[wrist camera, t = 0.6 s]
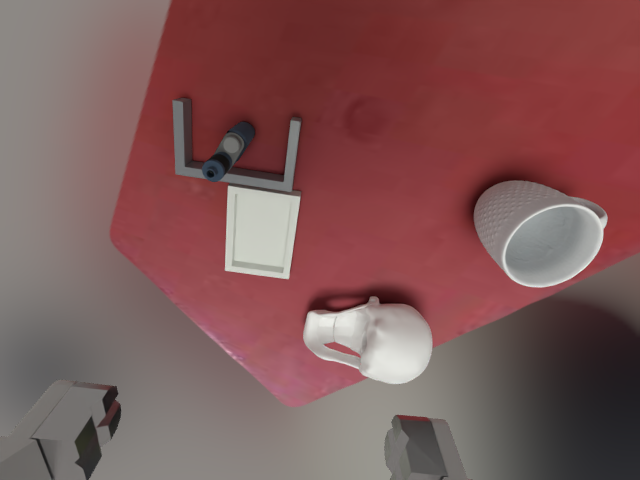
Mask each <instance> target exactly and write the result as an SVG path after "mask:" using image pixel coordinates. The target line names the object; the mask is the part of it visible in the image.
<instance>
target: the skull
mask: <svg viewBox="0 0 640 480" xmlns="http://www.w3.org/2000/svg"><path fill="white" fill-rule="evenodd" d="M379 303H380V302H379V299H378V298H377V297H376V296H375V297H374V296H371V297H370V299H369V301H368V303H366V304H363V305H359V306H356V307H354V308H351V309H347V310H343V311H340V312H331V311H327V310H313V311H310V312H308V314H307V318H306V323H305V326H304V333H303V339H304V342H305V344H306V346H307V347H308V348H309V349H310V350H311V351H312V352H313V353H314V354H315V355H317V356H318V357H320V358H322V359H324V360H329V361H336V362H340V363H343V364H347V365H350V366H352V367H355V368H357V369H359V371H360V372H361V373H362V374H363V375H364V376H366V377H370V378H371V379H373V380H378V381H382V382H386V383H390V384H402V383H406V382H409V381H411V380H412V379H414V378H416V377H417V376H419V375H420V374H421V373H422V372H423V371H424V370H425V368H426V367H427V365H428V363H429V360H430V357H431V353H432V334H431V330H430V328H429V325H428V323H427V322H426V320H425V319H424V318H423V317H422V315H421V314H420V313H419V312H418V311H417V310H416V309H415V308H413V307H411V306H409V305H406V304H379ZM333 335H334V336H333ZM330 342H336V343H339V344H341V345H345V346H347V347H349V348H350V349H351V350H353V351H355V352H357V353H359V354H360V356H361V358H359V357H357V356H353V355H349V354H344V353H341V352H339V351H336V350H333V349H330V348H328V347H326V346H324V345H323V344H326V343H330ZM360 363H361V364H360Z"/></svg>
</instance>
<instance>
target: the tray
mask: <svg viewBox="0 0 640 480" xmlns="http://www.w3.org/2000/svg"><path fill="white" fill-rule="evenodd" d="M300 197H301V191H295V190H292V192H288V191H281V190H275V189H268V188H262V187H255V186H249V185H242V184H236V183H230V184H229V185H228V199H227V228H226V256H225V271H232V272H239V273H247V274H254V275H261V276H269V277H276V278H284V279H289V274H290V267H291V260H292V253H293V246H294V239H295V232H296V225H297V218H298V211H299V204H300Z"/></svg>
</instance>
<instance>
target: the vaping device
mask: <svg viewBox="0 0 640 480" xmlns="http://www.w3.org/2000/svg"><path fill="white" fill-rule="evenodd" d="M254 135H255V131H254V128H253V127H252V125H250V124H249V123H247V122H240V123H238V124H237V125H235V126H234V127H233V128H231V129H230V130H229V131H228V132H227V133H226V135H225V136H224V138H223V140H222V141H221V143H220V145H219V147H218V148H217V150H216V152H215V153H214V155H213V156H212V157H211V158H210V159H209V160H208V161H206V162H205V163H204V164H203V166H202V173H203V175H204V177H205V178H206V179H207V180H209V181H212V182H217V181H220V180H221V179H222V178H223V177H224V175H225V174H226V173H227V172H228V171H229V170H230V169H231V167H232V166H233V165H234V164H235V163H236V161H238V160H239V159H240V157H241V156H242V154H243V153H244V151H245V150H246V148H247V147H248V145H249V144H250V142H251V141H252V139H253V138H254Z"/></svg>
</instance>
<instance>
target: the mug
mask: <svg viewBox="0 0 640 480" xmlns="http://www.w3.org/2000/svg"><path fill="white" fill-rule="evenodd" d="M474 223H475V227H476V231H477V233H478V237H479V238H480V241H481V242H482V244H483V246H484V247H485V248H486V250H487V252H488V253H489V254H490V255H491V257H492V258H493V259H494V260H495V262H496V263H497V264H498V265H499V266H500V268H502V269H503V270H504V272H505V273H506V274H507V275H508V276H509V277H510V278H511V279H512V280H513V281H515V282H517V283H519V284H521V285H524V286H529V287H547V286H552V285H556V284H559V283H562V282H564V281H566V280H568V279H570V278H572V277H574V276H575V275H577V274H578V273H579V272H581V271H582V270H583V269H584V268H585V267H586V266H587V265H588V264H589V263H590V262H591V261H592V260H593V259H594V257H595V256H596V254H597V253H598V251H599V249H600V246H601V244H602V240H603V229H604V228H605V226H606V223H607V214H606V212H605V211H604V210H603V209H602V208H601V207H600V206H598V205H597V204H595V203H593V202H591V201H588V200H585V199H582V198H577V197H569V196H567V195H565V194H564V193H561V192H559V191H558V190H555V189H552V188H551V187H547V186H544V185H543V184H537V183H535V182H529V181H522V180H520V181H516V180H514V181H507V182H502V183H499V184H496V185H494V186H492V187H490V188H489V189H487V190H486V191H485V192H484V193H483V194H482V195H481V196H480V198H479V199H478V201H477V203H476V206H475V209H474Z"/></svg>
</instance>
